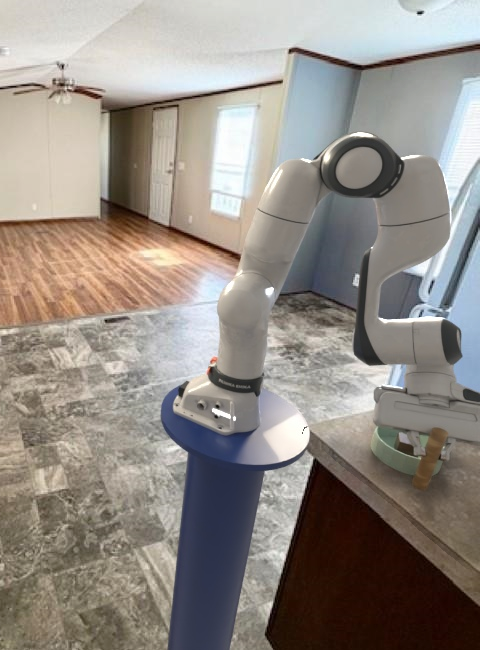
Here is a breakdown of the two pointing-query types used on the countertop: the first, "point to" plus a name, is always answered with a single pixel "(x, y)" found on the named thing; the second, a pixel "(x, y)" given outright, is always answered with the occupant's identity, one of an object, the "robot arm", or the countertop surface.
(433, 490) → the countertop surface
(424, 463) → the wooden cylinder
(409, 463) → the bowl
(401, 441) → the block
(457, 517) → the countertop surface
